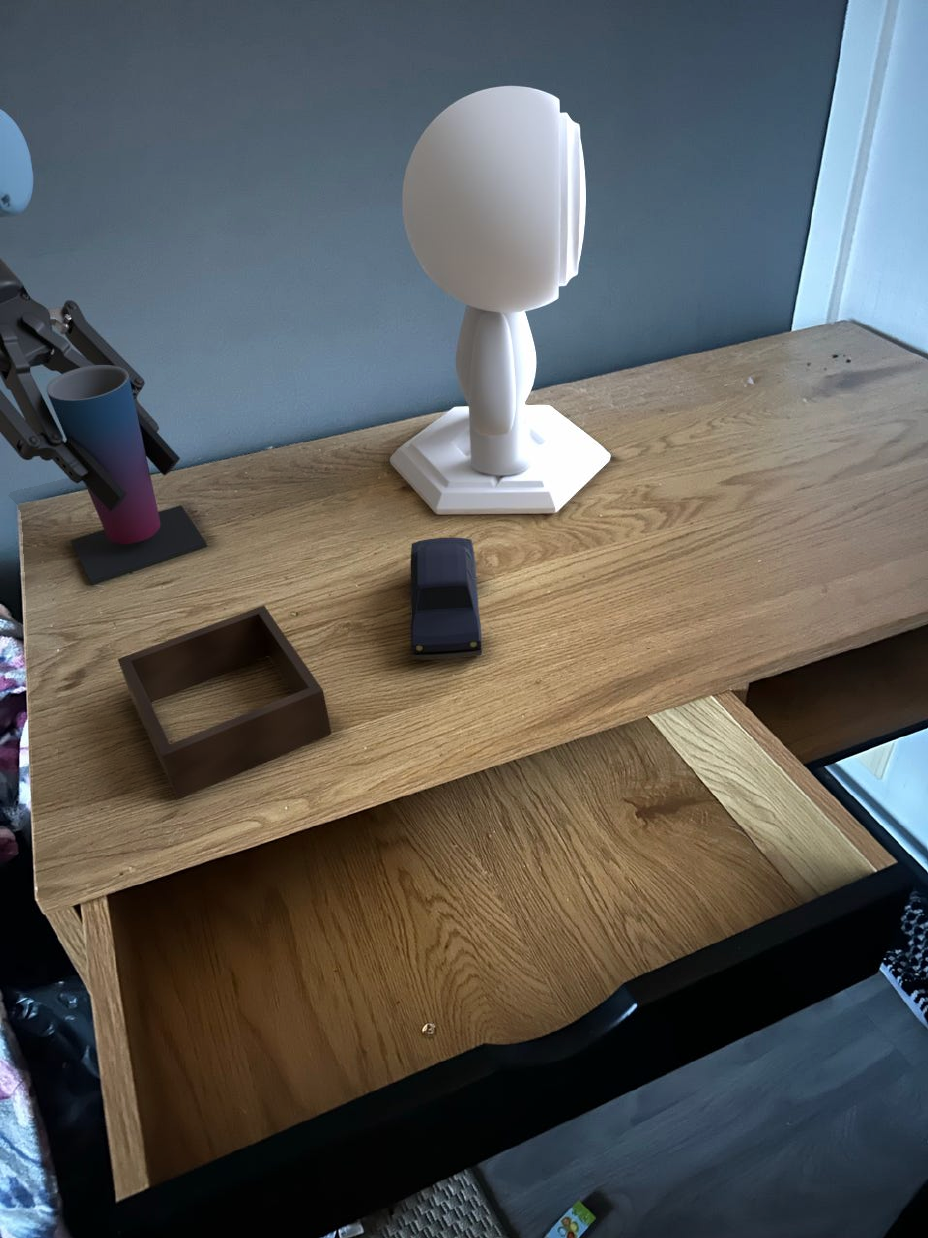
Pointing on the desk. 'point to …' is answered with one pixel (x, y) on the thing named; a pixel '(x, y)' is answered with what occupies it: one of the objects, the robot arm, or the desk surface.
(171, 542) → the mat
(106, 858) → the desk surface
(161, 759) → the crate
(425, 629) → the toy car
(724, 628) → the desk surface
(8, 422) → the robot arm
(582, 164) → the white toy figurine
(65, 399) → the cup
